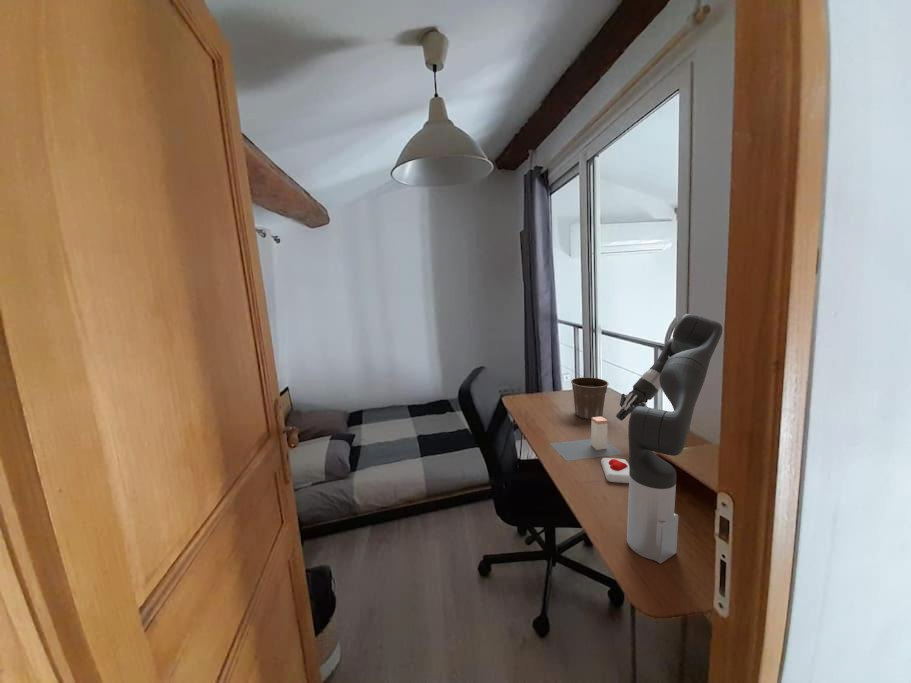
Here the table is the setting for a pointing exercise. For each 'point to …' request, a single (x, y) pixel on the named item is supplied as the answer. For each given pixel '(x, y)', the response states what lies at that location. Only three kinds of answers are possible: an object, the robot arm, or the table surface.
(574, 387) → the plant pot
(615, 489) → the table surface
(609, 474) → the icon
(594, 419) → the cream block
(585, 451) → the grey rectangular mat
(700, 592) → the table surface
